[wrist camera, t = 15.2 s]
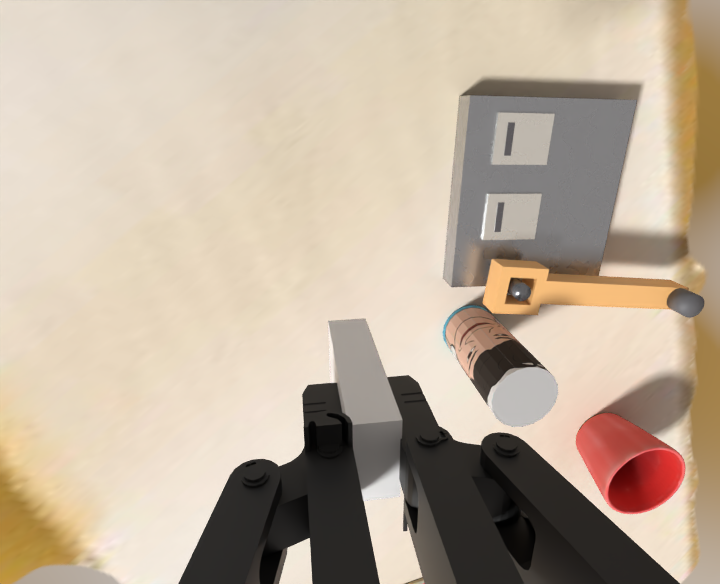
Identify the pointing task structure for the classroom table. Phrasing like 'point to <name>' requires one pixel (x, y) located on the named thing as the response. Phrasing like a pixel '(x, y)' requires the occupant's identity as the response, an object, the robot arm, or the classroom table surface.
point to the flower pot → (629, 464)
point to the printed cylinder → (500, 367)
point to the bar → (582, 290)
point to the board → (533, 184)
